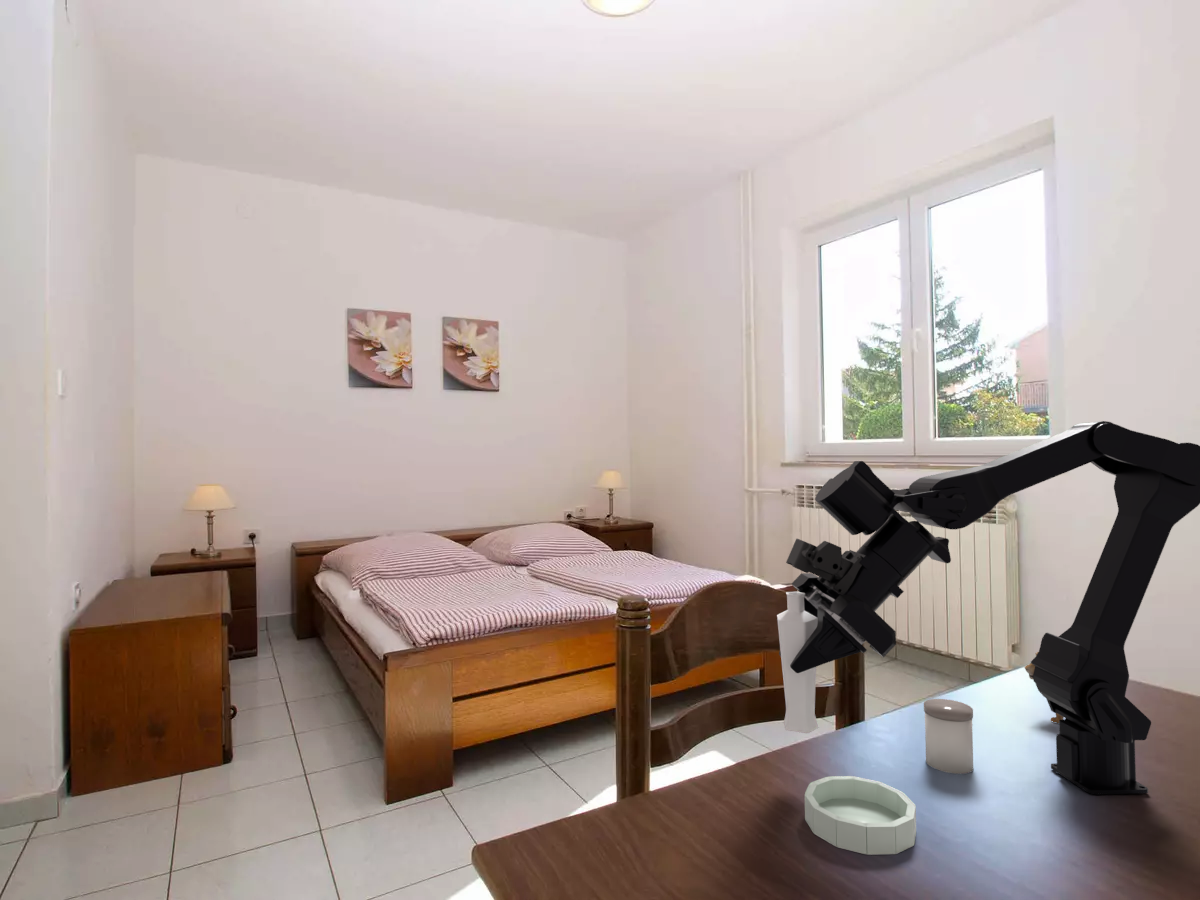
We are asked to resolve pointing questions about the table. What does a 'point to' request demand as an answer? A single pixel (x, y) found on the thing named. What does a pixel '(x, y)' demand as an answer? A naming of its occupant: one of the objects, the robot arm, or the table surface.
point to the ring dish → (860, 815)
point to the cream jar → (949, 736)
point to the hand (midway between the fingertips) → (787, 663)
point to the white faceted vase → (797, 686)
